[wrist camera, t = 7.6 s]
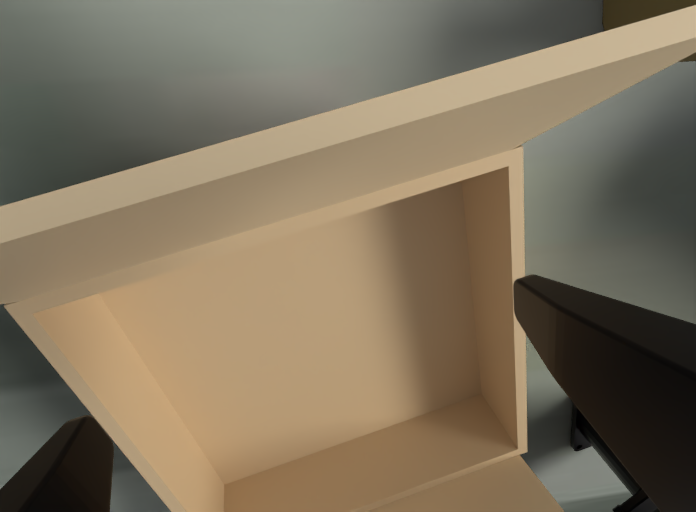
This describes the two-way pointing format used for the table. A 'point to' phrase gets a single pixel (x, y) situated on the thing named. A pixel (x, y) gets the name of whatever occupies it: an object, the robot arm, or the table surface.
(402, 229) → the carton
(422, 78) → the table surface
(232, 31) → the table surface
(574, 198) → the table surface
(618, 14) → the cork
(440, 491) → the flap
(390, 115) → the flap
